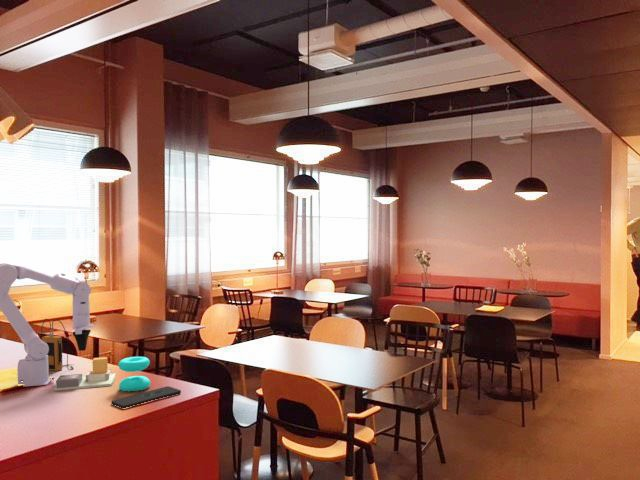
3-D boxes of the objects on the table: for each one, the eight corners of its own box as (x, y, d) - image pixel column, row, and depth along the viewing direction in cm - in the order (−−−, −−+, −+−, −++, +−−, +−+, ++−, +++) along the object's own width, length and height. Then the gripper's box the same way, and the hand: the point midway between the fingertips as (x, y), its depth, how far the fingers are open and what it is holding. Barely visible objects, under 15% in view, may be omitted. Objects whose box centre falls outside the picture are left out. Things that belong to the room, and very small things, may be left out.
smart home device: (181, 390, 176) (123, 405, 161) (181, 395, 176) (123, 411, 161) (167, 385, 181) (110, 400, 167) (167, 390, 181) (110, 405, 167)
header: (86, 381, 190) (85, 375, 190) (88, 377, 196) (88, 371, 196) (108, 379, 192) (108, 373, 192) (110, 375, 198) (110, 369, 198)
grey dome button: (56, 388, 182) (56, 380, 182) (60, 382, 189) (60, 375, 189) (78, 386, 184) (78, 378, 184) (82, 380, 191) (82, 373, 191)
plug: (92, 379, 192) (92, 359, 192) (94, 377, 195) (93, 358, 195) (107, 378, 193) (106, 358, 193) (108, 376, 196) (107, 357, 196)
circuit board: (54, 390, 182) (54, 388, 182) (63, 379, 196) (63, 377, 196) (111, 385, 187) (111, 383, 187) (116, 375, 200) (116, 373, 200)
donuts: (130, 364, 176) (112, 360, 182) (131, 394, 176) (112, 390, 182) (155, 357, 184) (137, 354, 190) (156, 387, 184) (137, 382, 190)
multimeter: (84, 365, 216) (82, 315, 216) (64, 372, 207) (63, 320, 206) (55, 363, 221) (53, 314, 221) (35, 369, 212) (33, 318, 211)
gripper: (89, 315, 195) (90, 353, 195) (95, 310, 209) (96, 345, 209) (68, 317, 193) (69, 355, 193) (75, 311, 207) (76, 346, 207)
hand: (82, 350), depth 201 cm, fingers closed
